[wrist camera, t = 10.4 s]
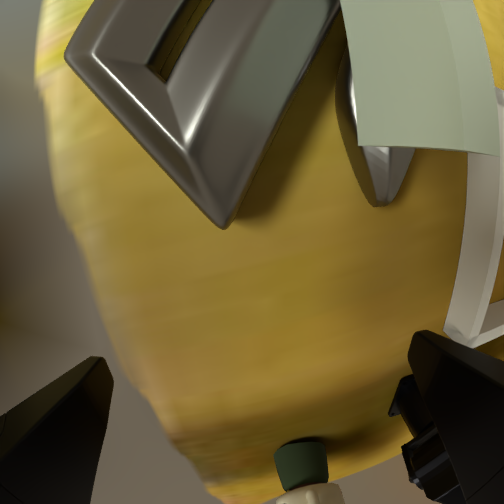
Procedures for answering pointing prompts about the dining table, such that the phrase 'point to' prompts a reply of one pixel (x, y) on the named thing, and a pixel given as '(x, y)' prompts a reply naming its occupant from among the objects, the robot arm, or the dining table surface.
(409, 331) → the dining table surface
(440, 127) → the pale green rectangular slab
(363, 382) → the dining table surface
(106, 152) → the dining table surface
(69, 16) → the dining table surface
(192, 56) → the emblem
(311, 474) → the character mug
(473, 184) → the rack
